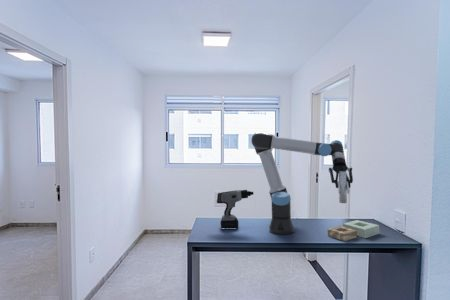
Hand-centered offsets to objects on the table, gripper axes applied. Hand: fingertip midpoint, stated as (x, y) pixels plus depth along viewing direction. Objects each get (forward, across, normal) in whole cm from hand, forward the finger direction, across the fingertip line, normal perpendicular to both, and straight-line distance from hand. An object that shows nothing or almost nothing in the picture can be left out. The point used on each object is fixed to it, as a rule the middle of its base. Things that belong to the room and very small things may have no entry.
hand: (344, 192), depth 154 cm
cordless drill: (+12, +65, -25) cm, 71 cm away
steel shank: (+2, 0, -7) cm, 8 cm away
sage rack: (+10, -11, -28) cm, 31 cm away
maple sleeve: (+17, +1, -21) cm, 27 cm away
